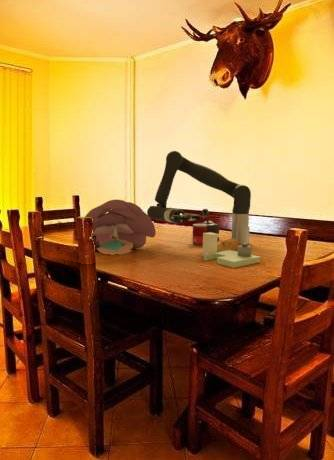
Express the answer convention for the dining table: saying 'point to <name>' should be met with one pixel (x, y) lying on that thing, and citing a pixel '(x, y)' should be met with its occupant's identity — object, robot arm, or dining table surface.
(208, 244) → the beige bar
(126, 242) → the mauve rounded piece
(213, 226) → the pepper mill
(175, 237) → the dining table surface
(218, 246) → the croissant
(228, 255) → the deck
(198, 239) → the canned food
